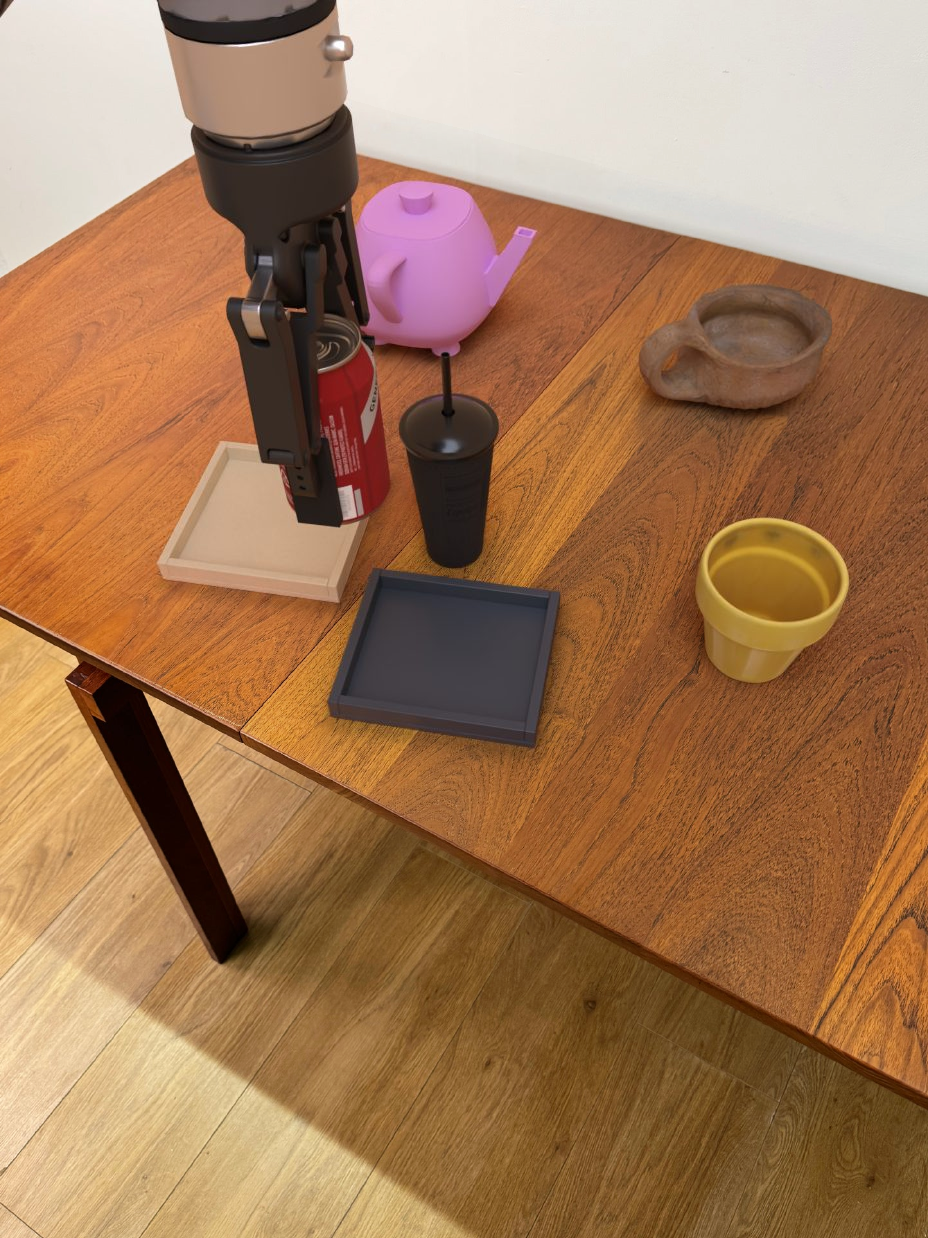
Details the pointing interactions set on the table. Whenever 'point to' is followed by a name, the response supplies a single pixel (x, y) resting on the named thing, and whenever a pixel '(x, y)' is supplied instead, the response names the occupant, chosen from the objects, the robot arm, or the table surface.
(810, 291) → the table surface
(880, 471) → the table surface
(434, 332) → the teapot
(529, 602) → the can tray
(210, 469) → the cup tray
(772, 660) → the flower pot
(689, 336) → the bowl
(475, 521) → the drinking cup
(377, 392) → the soda can
